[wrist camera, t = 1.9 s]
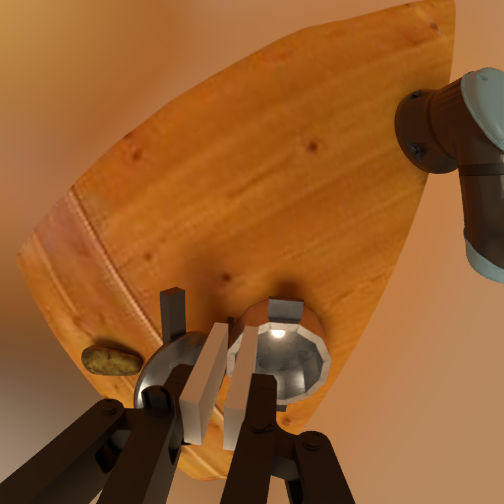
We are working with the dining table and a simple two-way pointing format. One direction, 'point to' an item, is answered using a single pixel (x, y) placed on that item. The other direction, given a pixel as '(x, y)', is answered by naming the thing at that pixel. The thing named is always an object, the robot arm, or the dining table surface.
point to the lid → (171, 344)
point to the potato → (110, 362)
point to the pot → (285, 347)
